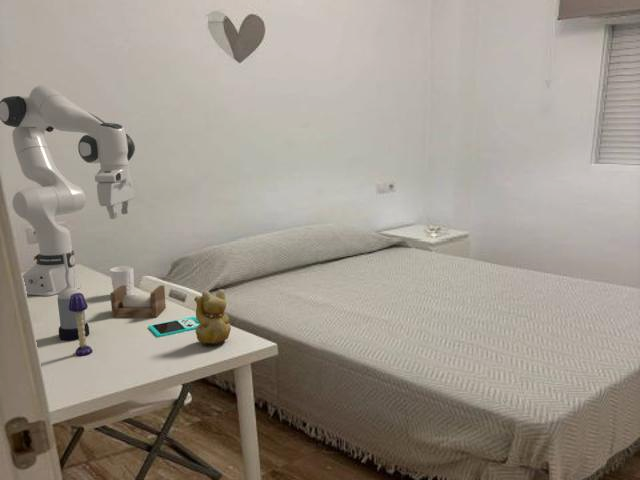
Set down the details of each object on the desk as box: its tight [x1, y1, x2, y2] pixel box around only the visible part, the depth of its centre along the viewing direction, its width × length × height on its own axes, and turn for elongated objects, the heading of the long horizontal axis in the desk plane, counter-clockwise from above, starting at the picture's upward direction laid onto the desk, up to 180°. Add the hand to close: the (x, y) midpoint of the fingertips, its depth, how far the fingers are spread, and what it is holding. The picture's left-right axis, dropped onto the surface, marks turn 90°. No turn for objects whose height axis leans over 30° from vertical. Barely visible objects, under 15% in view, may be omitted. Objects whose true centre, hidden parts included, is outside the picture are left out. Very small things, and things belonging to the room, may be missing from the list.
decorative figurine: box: [194, 288, 232, 348], centre depth 153 cm, size 10×8×15 cm
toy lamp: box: [69, 292, 93, 357], centre depth 147 cm, size 5×5×17 cm
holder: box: [109, 285, 167, 319], centre depth 180 cm, size 14×9×8 cm, turn 87°
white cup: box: [109, 265, 135, 295], centre depth 199 cm, size 8×8×10 cm
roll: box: [123, 294, 152, 308], centre depth 180 cm, size 10×5×5 cm, turn 87°
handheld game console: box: [148, 316, 200, 338], centre depth 168 cm, size 10×16×1 cm, turn 123°
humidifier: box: [57, 252, 90, 342], centre depth 159 cm, size 8×8×25 cm
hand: (119, 216), depth 182 cm, fingers open, 8 cm apart
